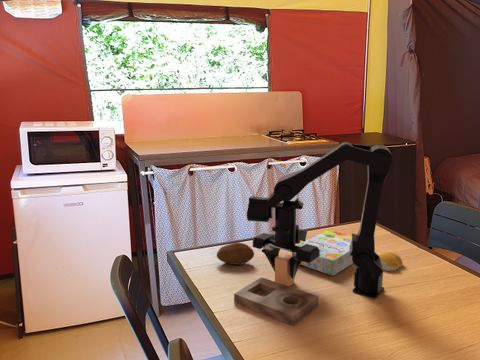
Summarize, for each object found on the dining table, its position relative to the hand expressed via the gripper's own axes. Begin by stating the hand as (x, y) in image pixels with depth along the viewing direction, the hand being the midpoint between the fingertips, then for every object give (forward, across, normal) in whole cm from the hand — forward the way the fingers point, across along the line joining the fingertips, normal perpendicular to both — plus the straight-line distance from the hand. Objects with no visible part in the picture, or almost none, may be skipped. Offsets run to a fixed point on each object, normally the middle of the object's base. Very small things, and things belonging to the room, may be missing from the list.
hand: (284, 275), depth 126 cm
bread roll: (+3, -18, -29) cm, 34 cm away
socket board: (+2, -4, +11) cm, 12 cm away
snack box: (0, +5, -23) cm, 24 cm away
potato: (+3, +20, -2) cm, 20 cm away
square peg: (+2, 0, 0) cm, 2 cm away
